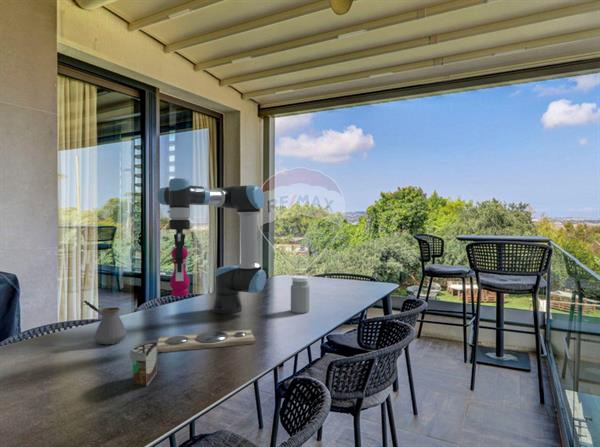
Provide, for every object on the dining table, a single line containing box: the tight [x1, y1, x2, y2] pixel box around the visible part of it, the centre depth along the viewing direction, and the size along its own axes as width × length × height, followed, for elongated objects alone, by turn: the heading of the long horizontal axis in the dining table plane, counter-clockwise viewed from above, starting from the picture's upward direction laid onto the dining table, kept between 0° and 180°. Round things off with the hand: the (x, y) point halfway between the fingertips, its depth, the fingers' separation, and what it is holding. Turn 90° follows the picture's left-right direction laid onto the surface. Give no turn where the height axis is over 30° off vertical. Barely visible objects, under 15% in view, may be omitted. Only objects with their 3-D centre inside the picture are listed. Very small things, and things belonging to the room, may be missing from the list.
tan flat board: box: [157, 328, 256, 354], centre depth 145 cm, size 14×36×2 cm, turn 106°
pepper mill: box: [169, 246, 191, 297], centre depth 142 cm, size 7×7×20 cm
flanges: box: [196, 331, 246, 343], centre depth 147 cm, size 12×19×1 cm, turn 106°
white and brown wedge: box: [129, 339, 158, 387], centre depth 112 cm, size 12×6×10 cm, turn 5°
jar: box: [290, 275, 311, 314], centre depth 192 cm, size 10×10×18 cm
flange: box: [166, 335, 188, 344], centre depth 142 cm, size 8×8×1 cm
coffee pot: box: [81, 300, 128, 345], centre depth 147 cm, size 21×12×15 cm, turn 66°
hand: (179, 279), depth 142 cm, fingers closed on pepper mill, 6 cm apart
